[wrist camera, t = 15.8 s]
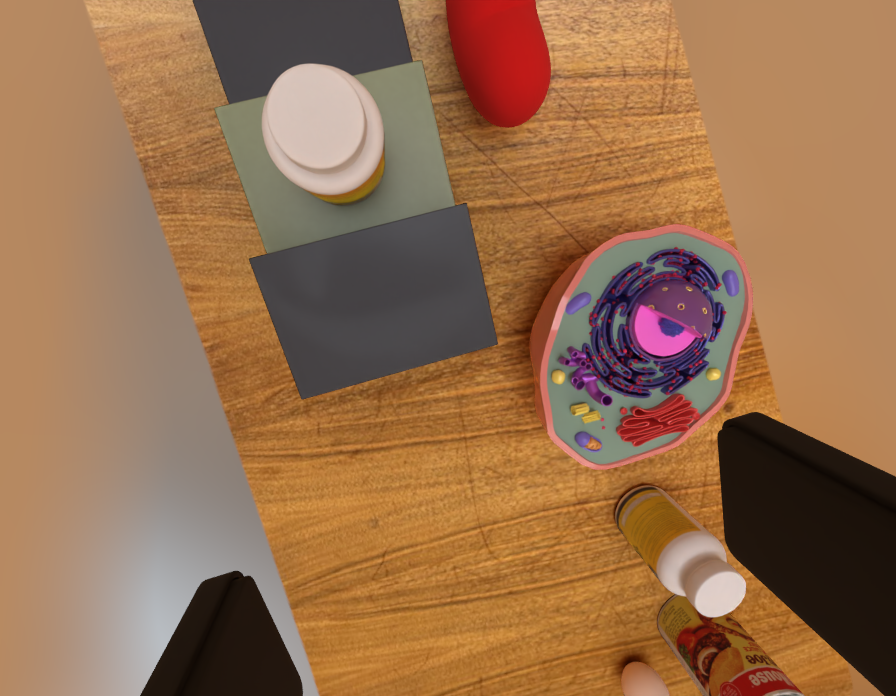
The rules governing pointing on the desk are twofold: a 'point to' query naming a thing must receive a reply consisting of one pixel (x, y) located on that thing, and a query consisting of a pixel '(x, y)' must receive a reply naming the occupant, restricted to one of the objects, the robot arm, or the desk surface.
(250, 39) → the tiered shelf
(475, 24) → the red kidney model
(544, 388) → the cell model
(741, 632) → the canned food
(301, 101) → the supplement bottle
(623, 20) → the desk surface
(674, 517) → the pill bottle
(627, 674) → the egg
